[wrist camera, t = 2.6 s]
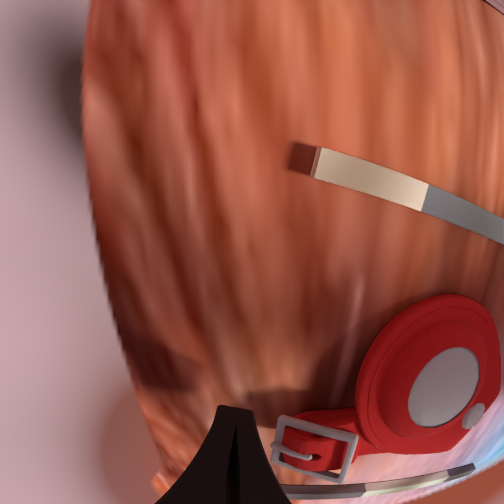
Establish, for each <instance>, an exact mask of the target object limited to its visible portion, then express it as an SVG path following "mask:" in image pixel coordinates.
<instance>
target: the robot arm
mask: <svg viewBox="0 0 504 504" xmlns="http://www.w3.org/2000/svg"><path fill="white" fill-rule="evenodd" d="M155 504H292V503H291V502H290V500H289V499H288V497H287V496H286V494H285V493H284V491H283V489H282V488H281V486H280V484H279V482H278V480H277V478H276V477H275V475H274V472H273V470H272V468H271V466H270V464H269V461H268V459H267V457H266V454H265V451H264V449H263V446H262V443H261V440H260V437H259V434H258V430H257V427H256V422H255V418H254V412H253V411H252V410H247V409H241V408H236V407H230V406H225V405H219V406H217V410H216V414H215V418H214V421H213V424H212V426H211V428H210V431H209V433H208V434H207V436H206V438H205V440H204V442H203V444H202V446H201V447H200V449H199V451H198V452H197V454H196V455H195V457H194V458H193V460H192V461H191V463H190V464H189V466H188V467H187V468H186V470H185V471H184V472H183V474H182V475H181V476H180V477H179V479H178V480H177V481H176V482H175V483H174V484H173V486H172V487H171V488H170V489H169V490H168V491H167V492H166V493H165V494H164V495H163V496H162V497H161V498H160V499H159V500H158V501H157V502H156V503H155Z"/></svg>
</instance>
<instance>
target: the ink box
mask: <svg viewBox="0 0 504 504" xmlns="http://www.w3.org/2000/svg"><path fill="white" fill-rule="evenodd" d="M485 1H487V2H488V3H490V4H491V5H492V6H494V7H495V8H496V9H498V10H499V11H500V12H502V13H503V14H504V0H485Z"/></svg>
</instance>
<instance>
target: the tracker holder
mask: <svg viewBox="0 0 504 504" xmlns="http://www.w3.org/2000/svg"><path fill="white" fill-rule="evenodd" d="M500 384H501V356H500V347H499V340H498V335H497V331H496V327H495V324H494V321H493V319H492V317H491V315H490V313H489V312H488V311H487V309H486V308H484V307H483V306H482V305H480V304H479V303H478V302H476V301H475V300H473V299H470V298H468V297H466V296H463V295H457V294H443V295H438V296H433V297H430V298H427V299H425V300H422V301H420V302H418V303H416V304H414V305H412V306H410V307H408V308H407V309H405V310H404V311H402V312H401V313H399V314H398V315H397V316H395V317H394V318H393V319H392V320H391V321H390V322H389V323H388V324H387V325H386V326H385V327H384V328H383V329H382V330H381V331H380V333H379V334H378V336H377V337H376V338H375V340H374V341H373V343H372V344H371V346H370V348H369V350H368V352H367V354H366V356H365V358H364V359H363V362H362V365H361V367H360V370H359V374H358V378H357V381H356V390H355V408H345V409H331V410H315V411H308V412H302V413H299V414H297V415H295V416H292V417H290V416H287V415H281V416H279V417H278V421H277V427H276V433H275V438H274V442H272V443H271V444H270V445H271V448H273V450H272V455H271V462H272V463H275V464H278V465H280V466H283V467H286V468H289V469H292V470H295V471H298V472H301V473H304V474H307V475H310V476H313V477H317V478H320V479H324V480H327V481H331V482H335V483H338V484H342V483H344V482H345V479H346V476H347V473H348V471H349V468H350V465H351V464H352V463H353V462H354V461H355V459H356V458H357V456H360V455H367V454H377V453H395V454H406V455H408V454H430V453H440V452H445V451H448V450H450V449H452V448H453V447H454V446H455V445H456V444H457V443H458V442H459V441H460V440H461V439H462V438H463V437H464V436H465V435H466V434H467V433H468V432H469V431H470V429H471V428H472V427H474V426H475V425H476V424H477V423H478V422H479V421H480V419H481V418H482V416H483V414H484V413H485V412H486V411H487V409H488V408H489V407H490V406H491V404H492V403H493V402H494V400H495V399H496V397H497V396H498V394H499V391H500ZM337 469H341V472H340V474H337V473H333V472H329V471H328V470H337Z"/></svg>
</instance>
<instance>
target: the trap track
mask: <svg viewBox="0 0 504 504" xmlns="http://www.w3.org/2000/svg"><path fill="white" fill-rule="evenodd" d="M310 176H311V177H313V178H315V179H319V180H323V181H326V182H330V183H333V184H337V185H340V186H344V187H347V188H351V189H354V190H357V191H361V192H364V193H367V194H370V195H373V196H377V197H380V198H383V199H386V200H389V201H392V202H395V203H398V204H401V205H404V206H407V207H410V208H412V209H415V210H418V211H421V212H424V213H426V214H429V215H432V216H435V217H437V218H440V219H443V220H445V221H448V222H450V223H453V224H455V225H458V226H461V227H463V228H466V229H468V230H470V231H473V232H475V233H478V234H480V235H482V236H485V237H487V238H489V239H492V240H494V241H496V242H499V243H501V244H503V245H504V219H502V218H501V217H499V216H497V215H495V214H493V213H491V212H489V211H487V210H485V209H483V208H481V207H479V206H477V205H474V204H472V203H470V202H468V201H466V200H464V199H462V198H459V197H457V196H455V195H453V194H450V193H448V192H446V191H444V190H441V189H439V188H437V187H434V186H432V185H429V184H427V183H424V182H422V181H420V180H417V179H414V178H412V177H409V176H407V175H404V174H401V173H399V172H396V171H393V170H391V169H388V168H385V167H382V166H379V165H377V164H374V163H371V162H368V161H365V160H362V159H359V158H356V157H353V156H349V155H346V154H343V153H340V152H337V151H333V150H330V149H326V148H323V147H317V150H316V154H315V158H314V162H313V166H312V170H311V174H310ZM475 469H476V468H475V466H474V464H473V463H472V464H469V465H465V466H462V467H458V468H454V469H450V470H446V471H442V472H438V473H433V474H428V475H423V476H418V477H412V478H406V479H400V480H393V481H385V482H376V483H365V484H352V485H327V486H304V485H280V486H281V488H282V489H283V491H284V493H285V494H286V496H287V497H288V499H301V500H312V499H341V498H354V497H365V496H374V495H381V494H389V493H395V492H401V491H406V490H412V489H417V488H421V487H426V486H430V485H435V484H439V483H443V482H446V481H450V480H454V479H457V478H460V477H464V476H467V475H470V474H471V473H472V472H473V471H474V470H475Z"/></svg>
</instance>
